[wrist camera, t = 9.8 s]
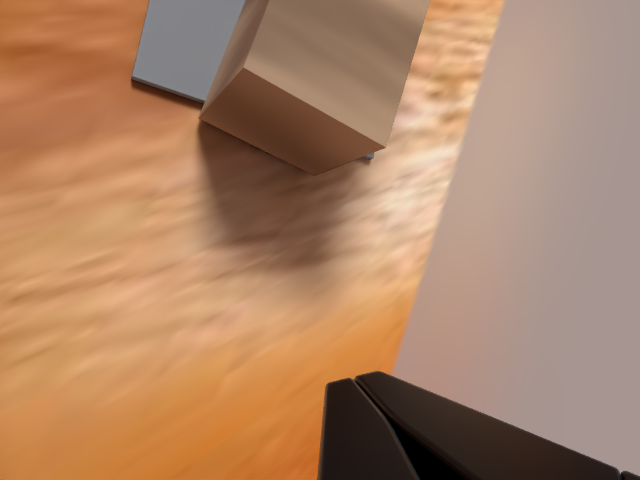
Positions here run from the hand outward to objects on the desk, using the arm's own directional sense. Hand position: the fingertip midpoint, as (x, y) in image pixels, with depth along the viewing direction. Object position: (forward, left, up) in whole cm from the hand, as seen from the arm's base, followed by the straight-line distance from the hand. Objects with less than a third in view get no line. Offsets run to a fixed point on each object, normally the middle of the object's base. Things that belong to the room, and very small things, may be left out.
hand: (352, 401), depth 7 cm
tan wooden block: (+7, -2, -9) cm, 12 cm away
